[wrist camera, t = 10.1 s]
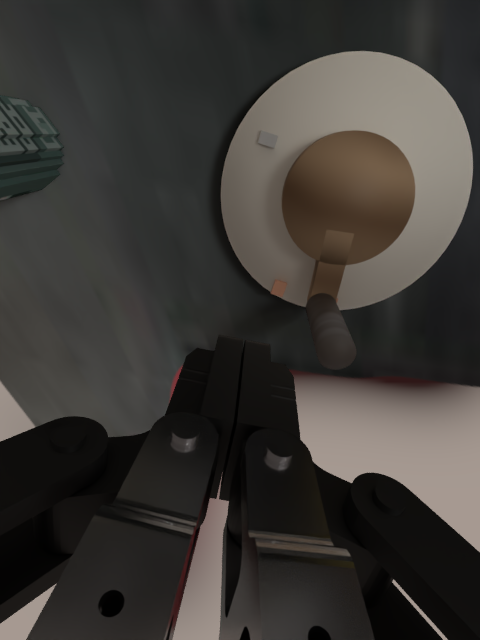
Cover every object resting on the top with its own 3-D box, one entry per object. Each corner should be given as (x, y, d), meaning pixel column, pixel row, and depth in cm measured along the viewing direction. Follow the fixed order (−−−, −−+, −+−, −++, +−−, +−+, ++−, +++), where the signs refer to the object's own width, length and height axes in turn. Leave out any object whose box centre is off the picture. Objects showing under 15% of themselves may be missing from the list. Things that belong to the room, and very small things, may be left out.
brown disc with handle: (294, 120, 26) (308, 116, 18) (426, 141, 26) (494, 145, 18) (261, 304, 32) (261, 359, 24) (368, 320, 32) (401, 379, 24)
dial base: (516, 104, 26) (530, 103, 25) (395, 328, 34) (400, 336, 33) (264, 14, 25) (264, 7, 23) (197, 270, 33) (195, 276, 31)
